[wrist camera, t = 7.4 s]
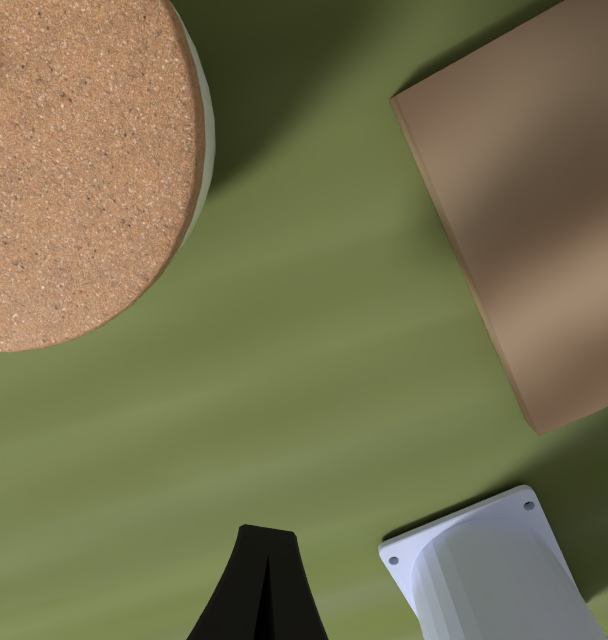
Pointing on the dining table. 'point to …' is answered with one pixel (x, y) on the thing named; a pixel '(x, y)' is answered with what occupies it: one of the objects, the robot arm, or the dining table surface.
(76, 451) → the dining table surface
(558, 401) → the board
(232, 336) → the dining table surface
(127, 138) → the lidded jar
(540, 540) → the robot arm
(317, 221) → the dining table surface
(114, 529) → the dining table surface
